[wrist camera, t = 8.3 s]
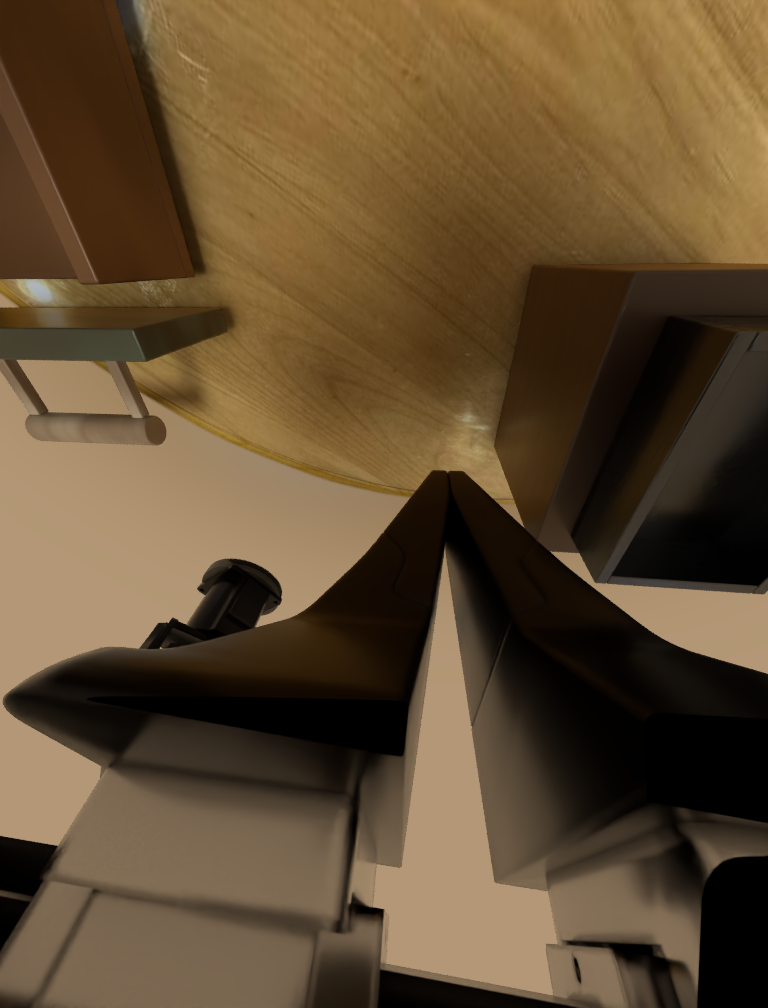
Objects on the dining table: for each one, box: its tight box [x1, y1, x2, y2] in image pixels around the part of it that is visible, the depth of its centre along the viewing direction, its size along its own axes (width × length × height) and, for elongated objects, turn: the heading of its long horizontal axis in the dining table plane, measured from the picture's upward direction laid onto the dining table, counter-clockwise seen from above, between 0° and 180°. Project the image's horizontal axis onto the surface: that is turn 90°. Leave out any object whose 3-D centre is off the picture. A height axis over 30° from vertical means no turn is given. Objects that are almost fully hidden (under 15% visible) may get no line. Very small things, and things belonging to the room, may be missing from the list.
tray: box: [571, 315, 768, 594], centre depth 10 cm, size 8×6×2 cm
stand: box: [494, 263, 768, 553], centre depth 15 cm, size 10×8×10 cm
